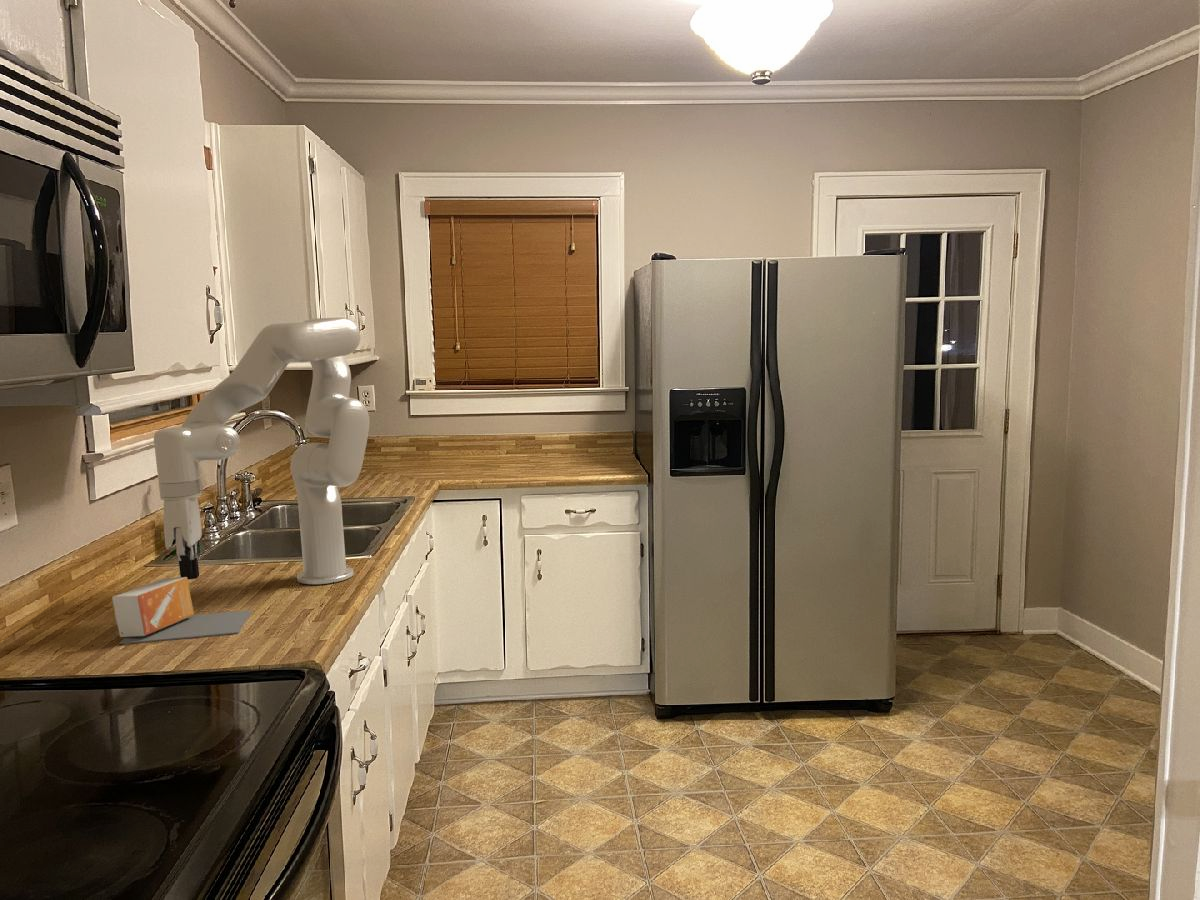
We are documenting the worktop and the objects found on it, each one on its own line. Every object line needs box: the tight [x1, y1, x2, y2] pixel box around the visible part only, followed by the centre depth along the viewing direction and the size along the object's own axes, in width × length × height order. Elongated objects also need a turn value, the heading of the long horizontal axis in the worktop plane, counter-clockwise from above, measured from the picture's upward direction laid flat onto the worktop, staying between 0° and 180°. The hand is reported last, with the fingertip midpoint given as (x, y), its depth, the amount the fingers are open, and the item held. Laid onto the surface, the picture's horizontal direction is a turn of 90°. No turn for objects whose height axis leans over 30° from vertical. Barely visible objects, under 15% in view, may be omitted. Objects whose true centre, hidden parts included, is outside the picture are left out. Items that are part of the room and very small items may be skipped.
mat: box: [118, 609, 253, 645], centre depth 173 cm, size 14×21×1 cm, turn 101°
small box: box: [111, 577, 195, 638], centre depth 173 cm, size 8×6×13 cm
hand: (190, 578), depth 179 cm, fingers closed
